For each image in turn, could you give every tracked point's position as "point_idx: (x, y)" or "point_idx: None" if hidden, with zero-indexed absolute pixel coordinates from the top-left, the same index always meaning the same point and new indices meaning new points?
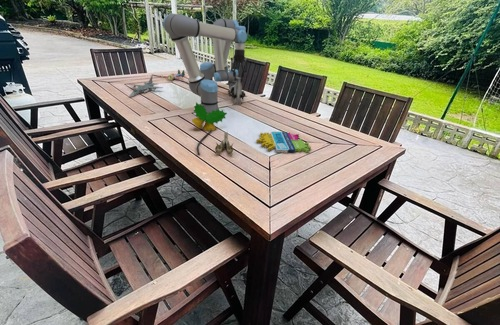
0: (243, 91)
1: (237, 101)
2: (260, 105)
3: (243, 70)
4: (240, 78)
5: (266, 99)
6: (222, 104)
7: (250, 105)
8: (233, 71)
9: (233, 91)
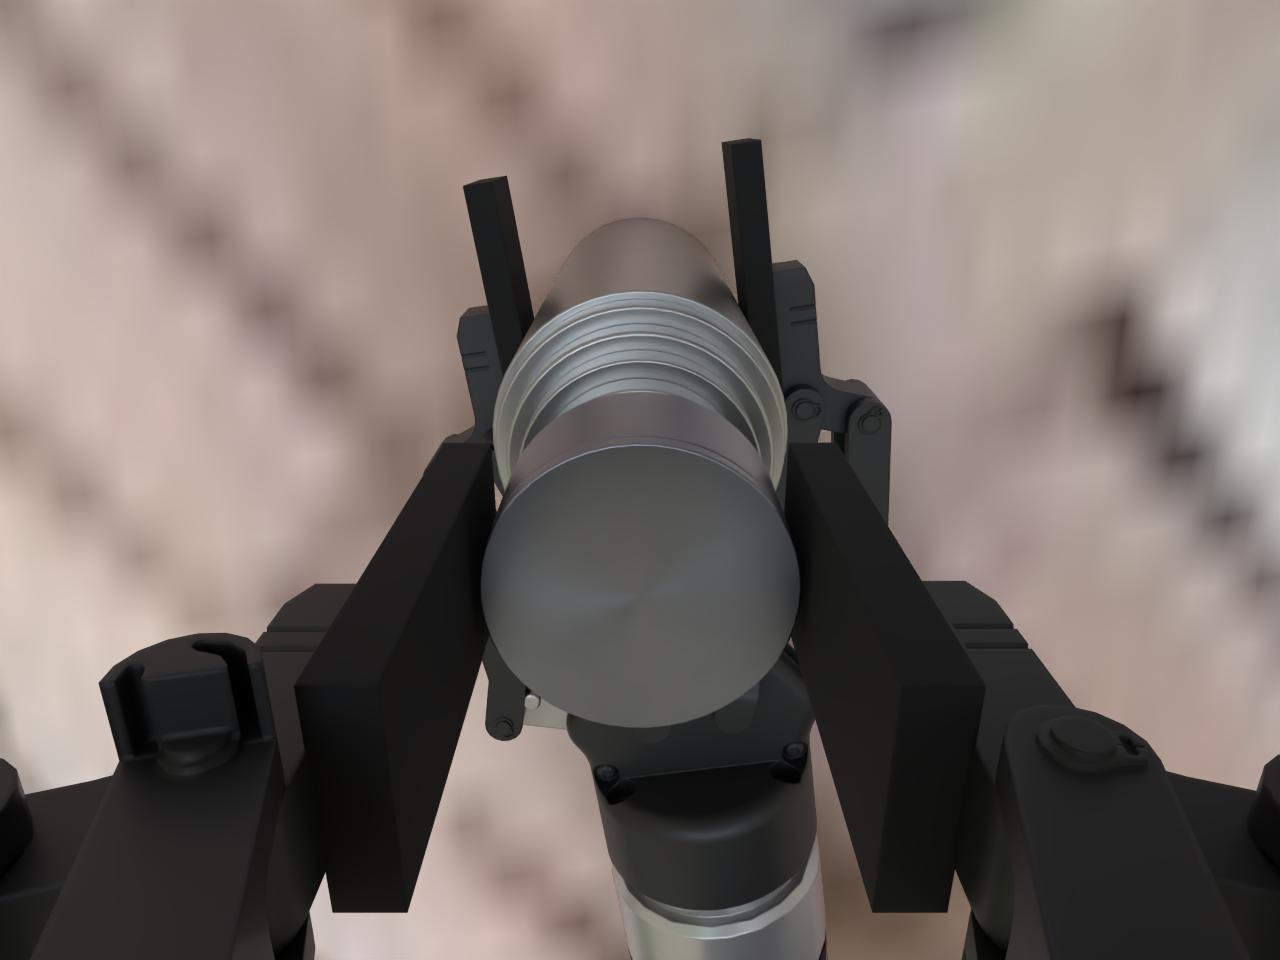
0: (490, 692)
1: (643, 226)
2: (95, 271)
3: (122, 880)
4: (523, 493)
5: (38, 721)
6: (998, 197)
7: (329, 230)
8: (1147, 759)
9: None
